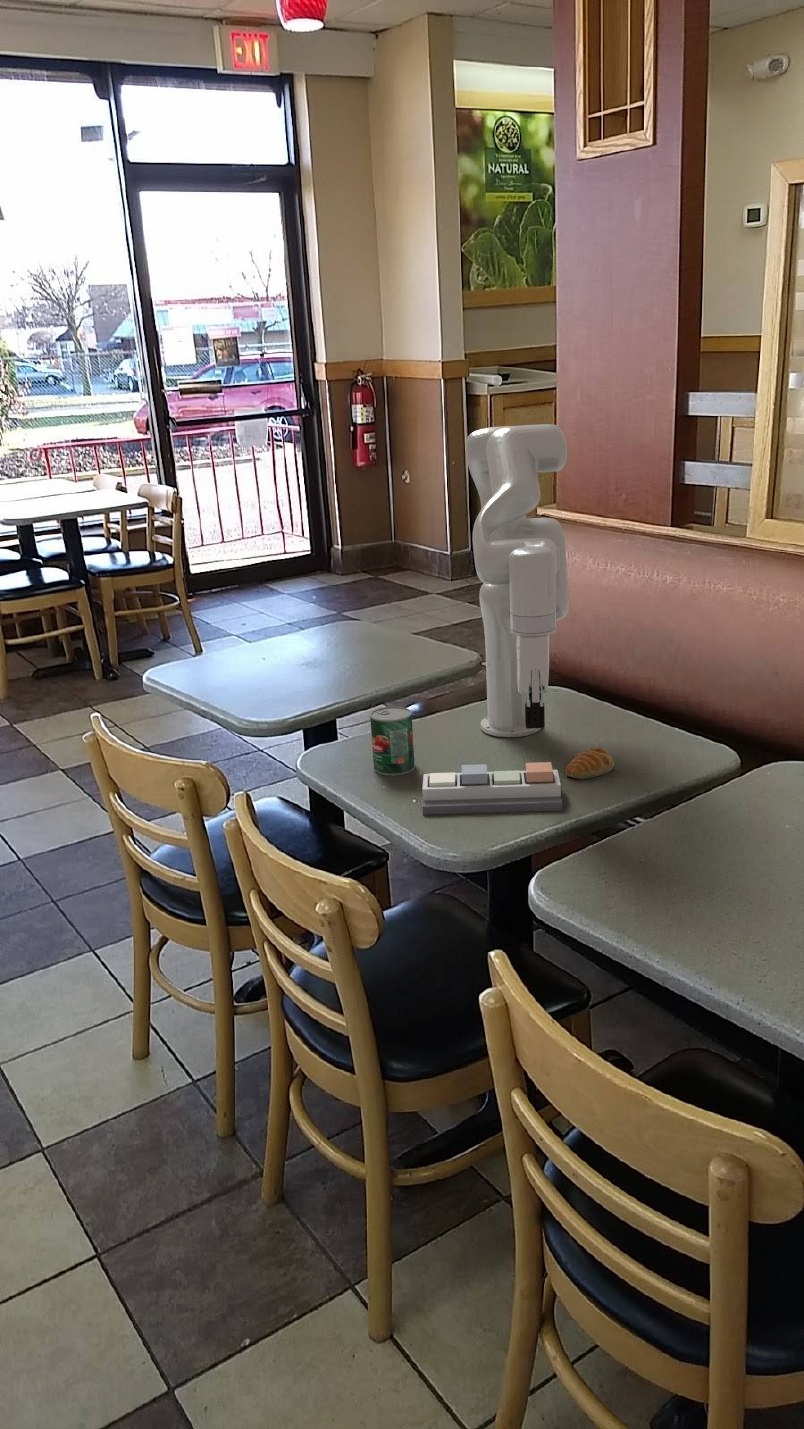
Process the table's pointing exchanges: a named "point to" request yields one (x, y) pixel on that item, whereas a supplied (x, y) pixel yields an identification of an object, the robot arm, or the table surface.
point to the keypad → (492, 796)
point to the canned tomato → (392, 740)
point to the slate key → (474, 774)
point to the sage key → (506, 777)
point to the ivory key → (442, 779)
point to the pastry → (590, 764)
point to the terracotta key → (539, 772)
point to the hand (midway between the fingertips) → (535, 726)
